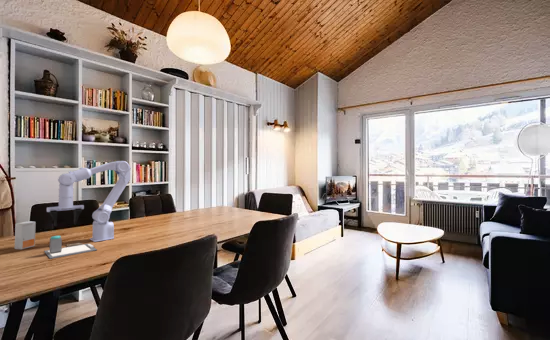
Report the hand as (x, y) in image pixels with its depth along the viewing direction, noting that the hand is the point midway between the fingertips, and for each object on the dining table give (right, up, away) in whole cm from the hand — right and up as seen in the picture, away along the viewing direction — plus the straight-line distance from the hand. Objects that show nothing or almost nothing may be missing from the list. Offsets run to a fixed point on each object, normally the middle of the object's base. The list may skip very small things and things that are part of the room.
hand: (65, 224), depth 133 cm
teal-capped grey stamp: (+6, -10, -13) cm, 17 cm away
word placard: (+4, -10, 0) cm, 11 cm away
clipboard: (+10, -10, -10) cm, 17 cm away
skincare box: (-15, -10, -6) cm, 19 cm away
